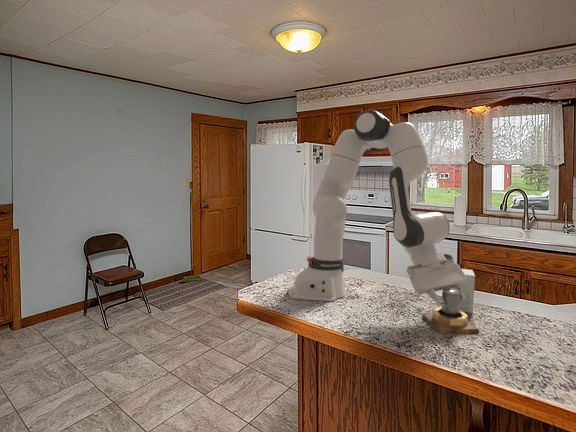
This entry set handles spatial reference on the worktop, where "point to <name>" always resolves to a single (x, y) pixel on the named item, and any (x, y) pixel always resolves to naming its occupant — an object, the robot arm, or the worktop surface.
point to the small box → (468, 292)
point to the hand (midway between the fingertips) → (452, 301)
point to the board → (445, 329)
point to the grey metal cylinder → (450, 303)
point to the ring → (449, 319)
